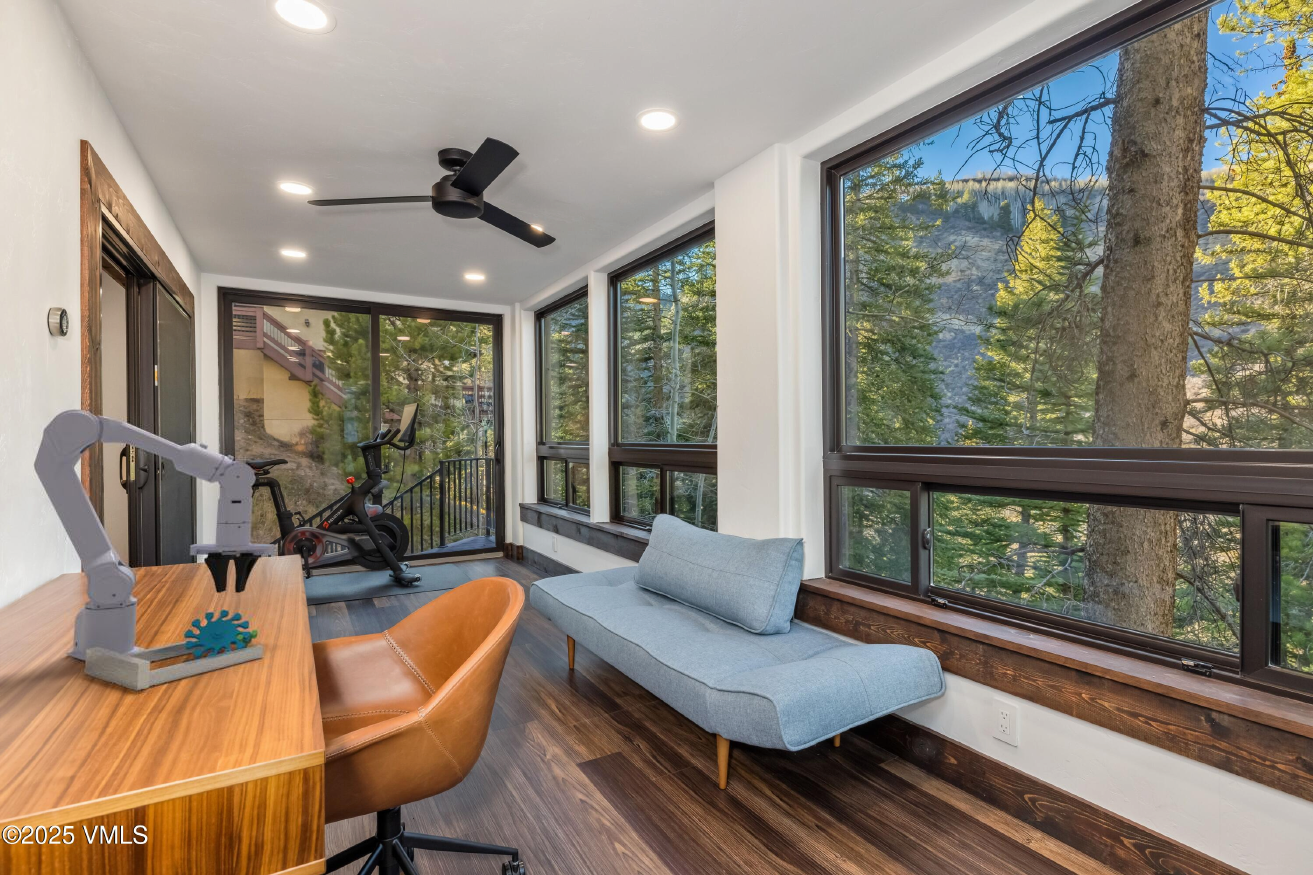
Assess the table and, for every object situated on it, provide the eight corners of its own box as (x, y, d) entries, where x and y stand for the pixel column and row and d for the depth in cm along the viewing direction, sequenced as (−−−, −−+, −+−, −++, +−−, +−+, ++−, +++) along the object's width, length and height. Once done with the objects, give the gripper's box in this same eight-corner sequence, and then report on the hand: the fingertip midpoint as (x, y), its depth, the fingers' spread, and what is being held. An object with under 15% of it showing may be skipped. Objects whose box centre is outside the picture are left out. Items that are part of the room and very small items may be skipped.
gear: (176, 656, 109) (193, 606, 116) (175, 673, 112) (192, 624, 119) (251, 657, 114) (263, 609, 121) (248, 674, 117) (260, 626, 124)
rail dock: (84, 673, 104) (86, 648, 104) (212, 644, 121) (213, 623, 121) (137, 690, 97) (138, 664, 97) (264, 657, 114) (265, 635, 114)
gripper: (182, 523, 121) (178, 595, 120) (263, 524, 123) (259, 595, 122) (203, 520, 128) (199, 588, 127) (280, 521, 130) (277, 588, 129)
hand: (230, 591), depth 125 cm, fingers open, 3 cm apart
